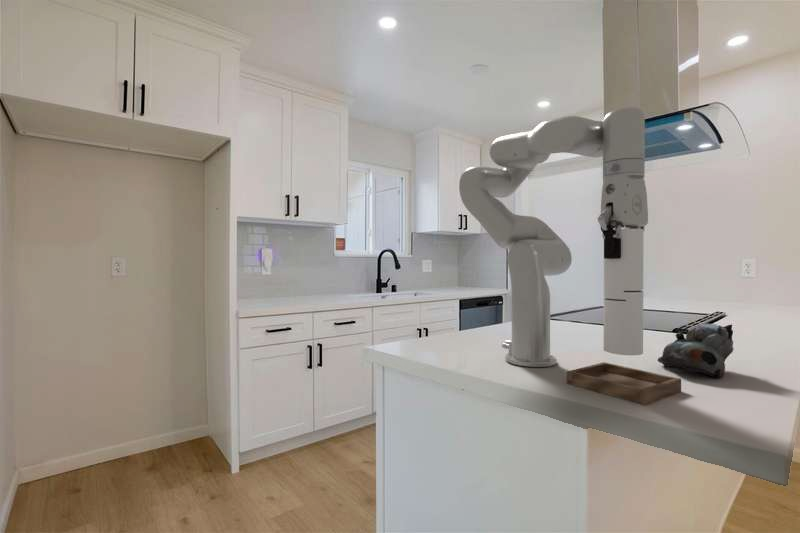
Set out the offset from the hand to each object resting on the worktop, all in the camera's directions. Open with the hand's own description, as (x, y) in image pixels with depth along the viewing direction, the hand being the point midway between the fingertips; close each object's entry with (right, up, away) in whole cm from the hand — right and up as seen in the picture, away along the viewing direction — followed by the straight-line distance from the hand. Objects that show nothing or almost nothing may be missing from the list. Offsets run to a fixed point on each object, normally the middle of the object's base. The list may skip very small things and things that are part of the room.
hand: (623, 257), depth 84 cm
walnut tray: (0, -27, +1) cm, 27 cm away
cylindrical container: (0, -19, 0) cm, 19 cm away
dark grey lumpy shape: (+23, -27, +12) cm, 37 cm away
